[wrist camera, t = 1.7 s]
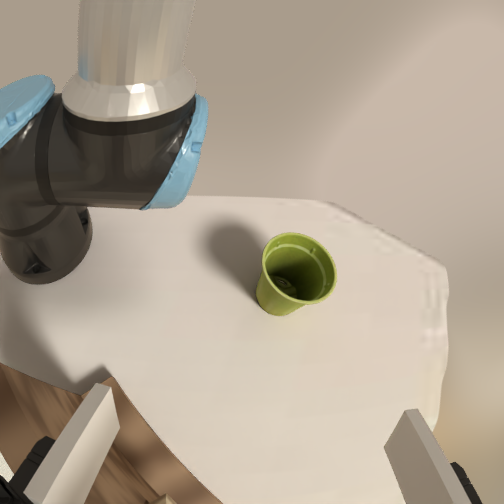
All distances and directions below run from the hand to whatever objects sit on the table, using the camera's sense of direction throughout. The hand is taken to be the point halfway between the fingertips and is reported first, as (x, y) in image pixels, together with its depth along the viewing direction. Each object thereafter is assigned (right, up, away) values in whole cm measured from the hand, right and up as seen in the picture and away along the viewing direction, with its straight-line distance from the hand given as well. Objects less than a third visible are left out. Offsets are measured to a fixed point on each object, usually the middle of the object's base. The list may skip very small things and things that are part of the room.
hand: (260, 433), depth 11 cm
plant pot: (+3, +1, +30) cm, 30 cm away
